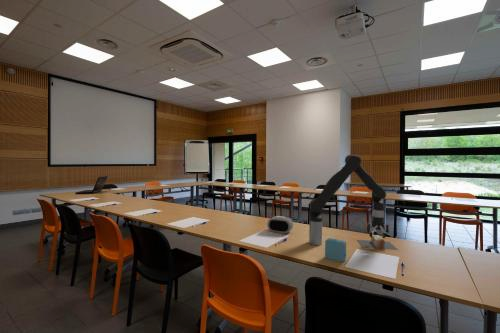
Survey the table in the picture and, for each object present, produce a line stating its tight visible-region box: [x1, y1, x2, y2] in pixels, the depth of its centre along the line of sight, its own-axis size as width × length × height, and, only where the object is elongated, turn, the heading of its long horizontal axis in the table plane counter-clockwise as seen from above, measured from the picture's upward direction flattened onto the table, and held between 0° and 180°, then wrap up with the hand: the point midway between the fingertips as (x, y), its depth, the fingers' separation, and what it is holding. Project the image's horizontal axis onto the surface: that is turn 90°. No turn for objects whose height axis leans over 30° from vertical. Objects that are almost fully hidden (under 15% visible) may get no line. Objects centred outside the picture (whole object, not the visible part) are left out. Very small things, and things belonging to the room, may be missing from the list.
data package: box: [324, 237, 347, 263], centre depth 157 cm, size 12×4×12 cm, turn 53°
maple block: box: [370, 234, 386, 248], centre depth 183 cm, size 5×5×14 cm
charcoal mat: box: [356, 239, 399, 251], centre depth 183 cm, size 24×18×1 cm
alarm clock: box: [266, 215, 294, 235], centre depth 215 cm, size 21×10×13 cm, turn 67°
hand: (377, 237), depth 183 cm, fingers open, 8 cm apart
